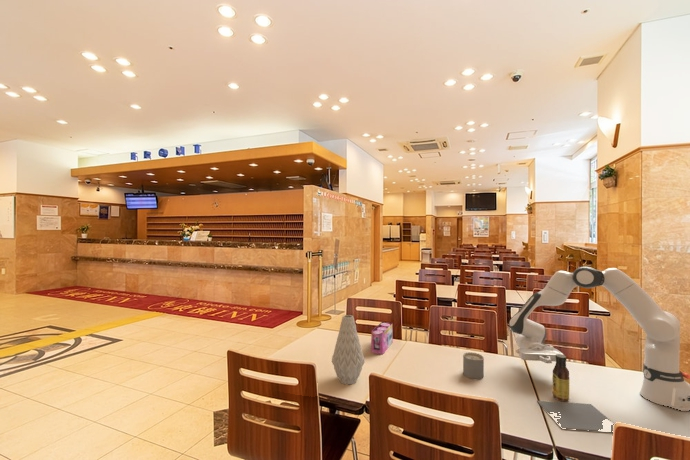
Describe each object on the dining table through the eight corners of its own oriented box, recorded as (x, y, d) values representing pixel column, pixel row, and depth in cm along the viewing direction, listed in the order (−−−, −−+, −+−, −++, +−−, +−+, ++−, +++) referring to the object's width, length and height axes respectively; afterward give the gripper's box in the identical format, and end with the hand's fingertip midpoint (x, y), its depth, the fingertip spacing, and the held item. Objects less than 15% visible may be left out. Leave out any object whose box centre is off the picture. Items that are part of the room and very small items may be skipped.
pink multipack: (382, 355, 188) (382, 333, 188) (370, 353, 192) (369, 331, 192) (392, 342, 210) (392, 322, 210) (381, 340, 213) (381, 321, 213)
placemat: (590, 405, 135) (590, 403, 135) (624, 433, 116) (624, 432, 116) (537, 402, 137) (537, 400, 137) (561, 429, 119) (561, 427, 119)
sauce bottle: (553, 393, 144) (553, 351, 144) (569, 398, 140) (569, 354, 140) (551, 399, 139) (551, 355, 139) (568, 404, 135) (568, 359, 135)
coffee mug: (482, 381, 156) (482, 361, 156) (461, 376, 161) (461, 357, 161) (485, 370, 168) (485, 352, 168) (466, 366, 173) (466, 348, 173)
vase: (367, 374, 163) (367, 313, 163) (360, 390, 147) (360, 322, 147) (337, 370, 168) (337, 310, 168) (327, 385, 152) (327, 319, 152)
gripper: (514, 343, 165) (526, 354, 152) (555, 345, 163) (570, 356, 149) (514, 355, 165) (526, 367, 152) (555, 357, 163) (570, 369, 149)
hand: (548, 361), depth 150 cm, fingers closed
